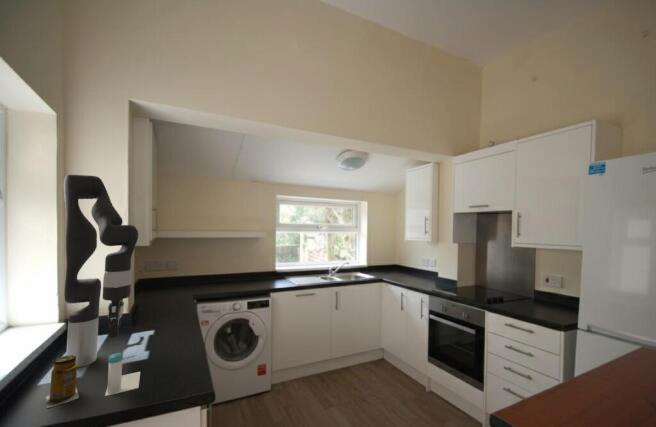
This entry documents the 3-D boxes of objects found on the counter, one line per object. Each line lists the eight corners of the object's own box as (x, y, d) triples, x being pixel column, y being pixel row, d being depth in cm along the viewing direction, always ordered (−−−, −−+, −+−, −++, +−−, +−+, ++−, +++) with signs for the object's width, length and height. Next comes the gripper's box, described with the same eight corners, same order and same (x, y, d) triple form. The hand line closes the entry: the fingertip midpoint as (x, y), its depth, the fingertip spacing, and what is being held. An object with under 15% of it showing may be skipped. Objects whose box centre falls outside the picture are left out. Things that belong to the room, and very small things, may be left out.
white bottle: (108, 389, 92) (109, 354, 93) (122, 385, 94) (123, 351, 95) (106, 395, 89) (107, 359, 90) (120, 391, 91) (122, 356, 91)
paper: (110, 378, 99) (110, 378, 99) (140, 372, 104) (140, 371, 104) (104, 396, 89) (104, 395, 89) (138, 388, 94) (138, 387, 94)
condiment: (76, 387, 94) (78, 351, 94) (79, 398, 88) (81, 360, 88) (45, 397, 88) (48, 358, 89) (46, 409, 83) (49, 368, 83)
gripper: (106, 281, 97) (104, 327, 97) (99, 289, 85) (96, 342, 85) (132, 279, 101) (130, 323, 101) (129, 286, 89) (126, 337, 88)
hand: (115, 332), depth 93 cm, fingers open, 8 cm apart
